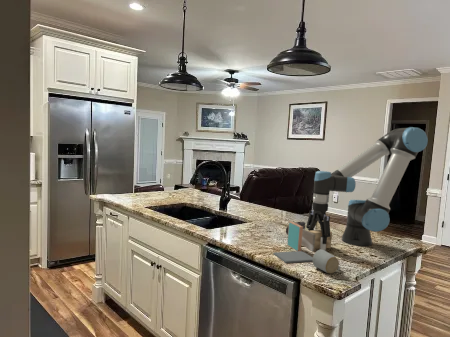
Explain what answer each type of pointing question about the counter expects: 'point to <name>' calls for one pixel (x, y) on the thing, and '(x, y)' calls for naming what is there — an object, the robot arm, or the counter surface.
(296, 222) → the perforated stone tool
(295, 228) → the terracotta tile
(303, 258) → the slate mat
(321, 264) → the ceramic mug
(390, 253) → the counter surface
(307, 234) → the tan rectangular block
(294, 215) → the counter surface
